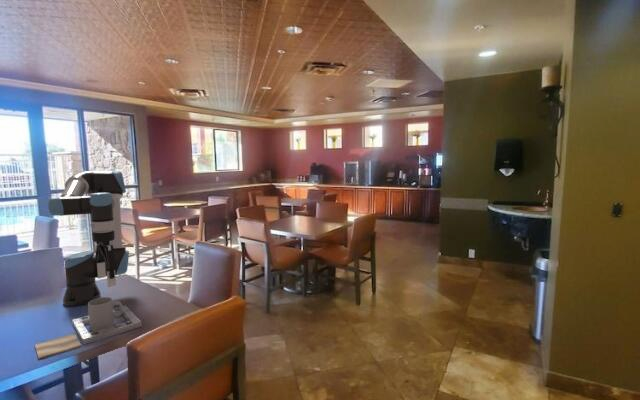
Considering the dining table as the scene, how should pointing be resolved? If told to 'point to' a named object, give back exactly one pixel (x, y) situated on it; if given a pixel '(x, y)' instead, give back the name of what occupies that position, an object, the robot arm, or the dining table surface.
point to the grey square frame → (103, 333)
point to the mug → (102, 313)
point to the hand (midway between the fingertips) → (106, 281)
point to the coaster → (57, 346)
